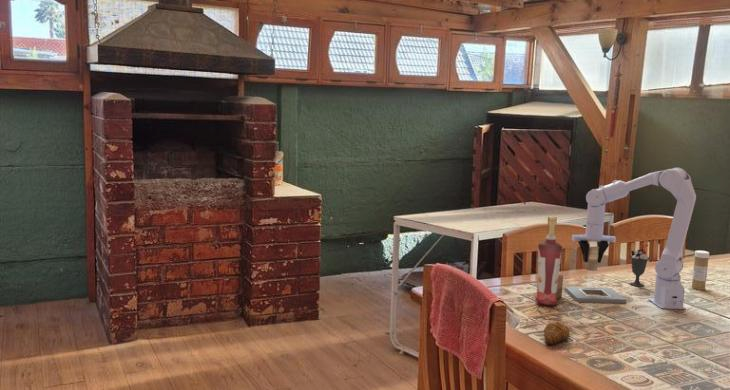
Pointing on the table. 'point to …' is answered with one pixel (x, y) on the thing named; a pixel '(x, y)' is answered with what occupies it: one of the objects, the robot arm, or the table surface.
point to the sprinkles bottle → (700, 270)
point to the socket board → (607, 297)
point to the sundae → (638, 264)
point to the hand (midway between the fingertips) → (591, 262)
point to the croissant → (555, 333)
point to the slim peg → (592, 258)
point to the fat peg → (559, 286)
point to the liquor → (548, 266)
